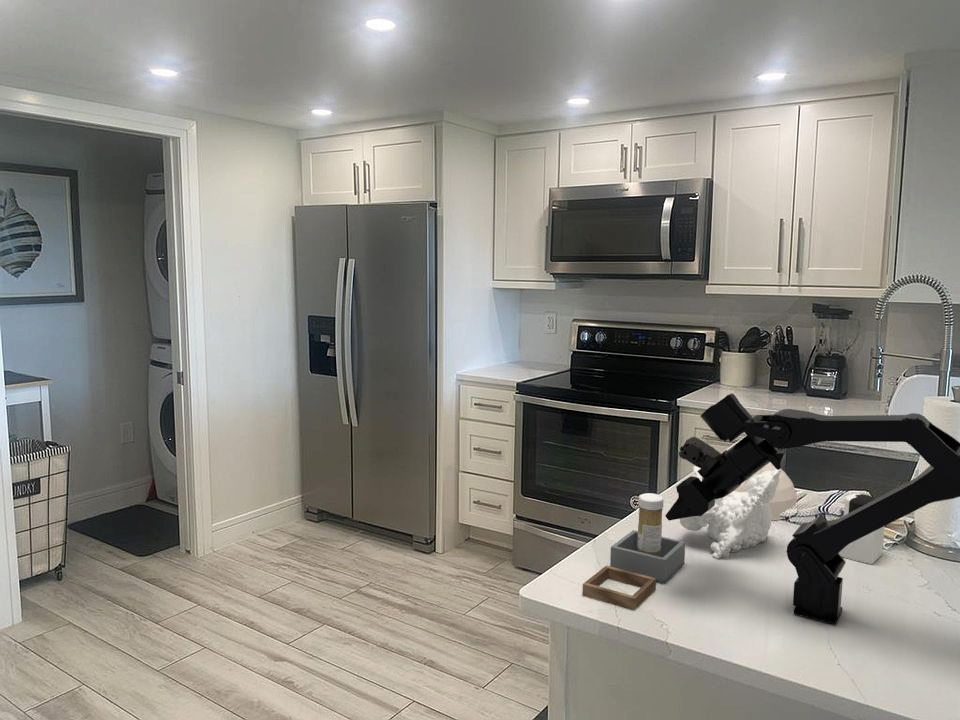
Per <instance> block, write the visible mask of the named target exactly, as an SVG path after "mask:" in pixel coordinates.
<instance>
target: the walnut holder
mask: <svg viewBox="0 0 960 720" xmlns="http://www.w3.org/2000/svg"><path fill="white" fill-rule="evenodd" d="M608 579H609V580H613V581H615V582H621V583H625V584H628V585H631V586H635V587H639V588H638V590H637V591H636V592H635V593H633V595H631V594H628V593H624V592H620V591H617V590H614V589H610V588H606V587H603V586H601V585H602V584H604V582H606V581H607V580H608ZM656 589H657V582H656V578H653V577H649V576H645V575H641V574H637V573H634V572H630V571H626V570H622V569H618V568H614V567H610V565H605V566H603V567H602V568H601V569H600V570H599V571H597V572H596V573H595V574H593V575H592V576H591V577H590V578H589V579H587V580H586V581H585V582H584V583H582V594H581V595H582V596H585V597H588V598H591V599H596V600H598V601H602V602H605V603H608V604H609V603H610V604H612V605H616V606H619V607H621V608H622V607H623V608H626V609H629V610H633V611H636V609H637V608H639V606H640V605H642V604H643V602H645V600H646V599H648V598H649V597H650V595H652V594H653V592H655V591H656Z"/></svg>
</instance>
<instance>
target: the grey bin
mask: <svg viewBox="0 0 960 720" xmlns="http://www.w3.org/2000/svg"><path fill="white" fill-rule="evenodd" d="M637 543H638V530H635V529H633V530H631V531H630V532H629V533H627V534H626V535H624V537H622V538H621V539H619V540H618V541H617V542H615V543H614V544H613V545H611V546H610V556H609V557H610V559H609V560H610V561H609V562H610V563H609V566H610V567H614V568H618V569H622V570H626V571H630V572H634V573H637V574H641V575H645V576H649V577H653V578H656V583H659V584H662V585H665V584H666V583H667V582H668V581H669V580H670V579H671V578H672V577H673V576H674V575H675V574H676V573H677V572H678V571H679V570H680V569H681V568H682V567H683V566H684V565H685V559H686V558H685V556H686V541H684V540H678V539H675V538H670V537H665V536H662V535H661V550H660V557H658V556H654V555H650V554H646V553H641V552H638V547H637Z"/></svg>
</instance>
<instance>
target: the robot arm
mask: <svg viewBox="0 0 960 720" xmlns="http://www.w3.org/2000/svg"><path fill="white" fill-rule="evenodd" d="M699 417H700V418H701V419H702V421H703V422H704V423H705V424H706V426H708V427H709V428H710V430H711V431H712V432H713V433H714V435H715V436H716V437H717V438H718V439H719V440H720V442H724V443H725V442H727V441H728V442H729V443H733V442H734V441H735V440H736V439H738V438H740V436H742V435H743V434H745V436H744V437H743V438H741V439H740V440H739V441H737V442H736V443H735V444H734V445H733V446H731V447H729V449H728V450H727V449H726V450H723V451H722V452H721V453H720V451H718V450H717V449H716V448H714V447H713V446H712V445H710V444H708V443H707V442H705V441H703V440H702V439H701V438H698V437H696V436H691V437H690V438H688V439H686V440H685V442H684V444H683V445H682V446H681V447H680V448H679V453H678V457H679V458H680V459H682V460H685V461H687V462H689V463H690V464H691V465H693V466H697V467H699V468H701V469H700V470H698V471H697V472H698V473H699V474H700V475H701V477H702V482H701V480H700V479H699V478H698V477H696V476H692V475H691V476H689V477H687V478H685V479H684V480H683V481H681V482H680V483H679V484H678V485H676V486H675V488H676V493H677V494H678V495H677V496H678V497H677V498H676V500H675V502H674V503H673V504H672V506H671V507H670V508H669V510H668V511H667V512H666V514H665V515H664V516H665V518H666V519H667V520H668V522H669V521H674V520H680V519H681V518H686V517H693V516H702V515H703V514H704V513H706V512H707V511H708V510H710V509H711V508H712V507H713V506H715V499H719V498H721V499H722V498H723V497H725V496H726V495H728V494H730V493H731V492H733V491H734V490H735V489H737V488H738V487H739V486H740V485H741V484H742V483H743V482H744V481H745V480H747V479H748V478H749V477H751V476H752V475H753V474H755V473H756V472H757V471H759V470H760V469H761V468H763V467H764V466H765V465H767V464H768V463H769V462H771V463H772V465H773V466H774V467H775V468H776V469H777V470H780V469H782V468H783V467H784V466H785V465H786V455H787V451H786V450H785V449H791V448H799V447H804V446H809V445H812V444H817V443H824V442H857V443H858V442H860V443H861V442H863V443H864V442H865V443H866V442H867V443H870V442H872V443H873V442H876V443H878V442H879V443H884V442H885V443H886V442H887V443H892V442H893V443H894V442H895V443H906V444H908V445H909V446H910V447H911V448H912V449H914V450H915V451H916V452H917V453H918V454H919V456H921V458H923V460H925V462H927V464H928V465H929V466H928V467H927V468H926V469H925V470H923V471H922V472H921V473H920V474H919V475H917V476H916V477H915V478H912V479H911V480H908V481H907V482H905V483H903V484H902V485H899V486H898V487H896V488H894V489H891V490H890V491H888V492H886V493H884V494H883V495H881V496H879V497H877V498H876V499H875V500H873V501H871V502H869V503H867V504H865V505H864V506H862V507H860V508H858V509H856V510H854V511H852V512H850V513H848V514H846V515H845V516H843V515H842V516H843V517H842V516H841V517H839V518H835V519H831V520H826V519H825V517H824V515H823V514H822V513H821V514H819V515H818V516H817V517H815V518H814V519H812V520H811V521H808V522H803V523H801V524H800V525H799V527H798V528H797V529H796V530H795V531H794V532H793V533H792V537H793V538H792V539H791V540H790V542H789V543H788V544H787V546H786V556H787V559H788V560H789V562H790V564H792V566H793V567H794V568H795V571H796V574H797V578H796V580H795V581H794V583H793V594H792V595H793V596H792V597H793V598H792V606H793V607H794V609H793V614H794V615H796V616H800V617H803V618H808V619H811V620H816V621H820V622H824V623H827V624H831V625H838V622H839V620H840V617H841V615H842V613H843V609H844V608H843V607H842V594H843V582H844V580H843V579H844V578H843V577H841V576H840V574H841V572H842V570H843V568H844V567H845V565H846V560H845V558H844V557H841V556H840V555H839V552H840V551H841V550H842V549H844V548H845V547H846V546H847V545H848V544H850V543H852V542H854V541H856V540H858V539H860V538H862V537H864V536H866V535H868V534H870V533H872V532H874V531H876V530H878V529H880V528H882V527H884V526H885V527H886V526H888V525H889V524H892V523H893V522H896V521H898V520H899V519H902V518H904V517H905V516H907V515H909V514H911V513H913V512H916V511H917V510H920V509H921V508H923V507H925V506H928V505H929V504H932V503H933V504H934V503H935V502H942V501H948V500H953V499H956V498H960V441H959V440H957V439H956V438H955V437H954V436H952V435H950V434H948V433H947V432H946V431H944V430H942V429H941V428H940V427H938V426H936V425H935V424H933V423H932V422H931V421H930V420H928V418H927V417H925V416H924V415H922V414H920V413H915V412H913V413H909V414H886V415H885V414H881V415H880V414H879V415H877V414H875V415H874V414H872V415H870V414H869V415H868V414H867V415H825V414H820V413H815V412H812V411H811V412H810V411H806V410H798V409H792V408H785V409H780V410H778V411H776V412H775V413H773V414H756V415H754V416H752V415H751V414H750V413H749V412H748V410H747V409H746V408H745V407H744V405H742V404H741V402H740V401H739V399H738V398H737V396H736V395H735V394H734V393H728V394H726V396H724V397H723V398H722V399H720V400H718V401H717V403H714V404H712V405H711V406H709V407H708V408H707V409H706V410H704V411H703V412H702V413H701V414H700V416H699ZM885 527H884V528H885Z"/></svg>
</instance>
